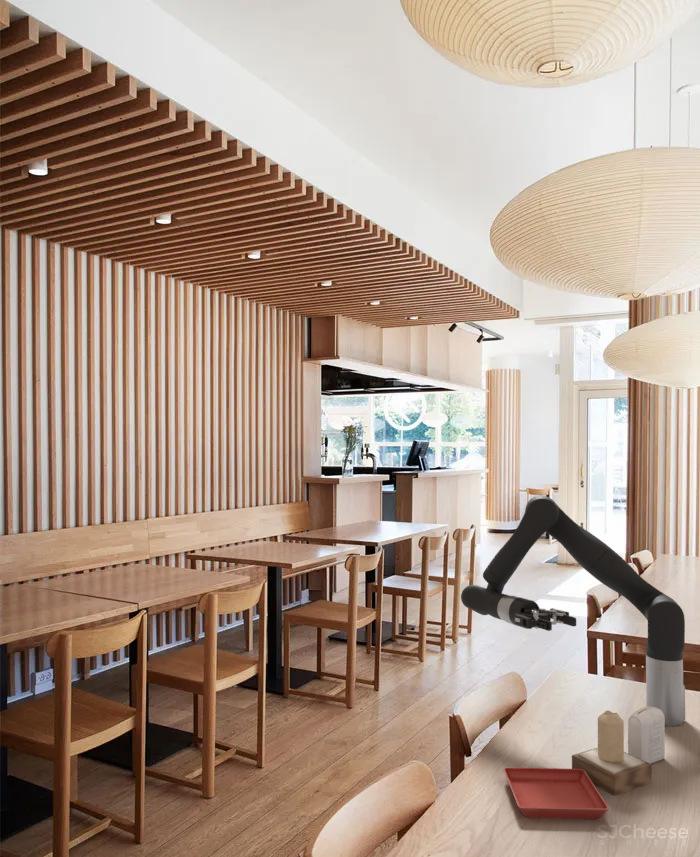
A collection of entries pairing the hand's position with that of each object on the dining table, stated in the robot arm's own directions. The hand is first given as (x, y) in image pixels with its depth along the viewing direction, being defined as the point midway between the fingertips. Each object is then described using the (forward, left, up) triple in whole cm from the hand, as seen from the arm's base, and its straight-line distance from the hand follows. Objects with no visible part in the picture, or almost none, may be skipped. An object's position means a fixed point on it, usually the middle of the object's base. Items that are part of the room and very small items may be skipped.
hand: (563, 624), depth 179 cm
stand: (+4, +18, -30) cm, 35 cm away
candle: (+4, +18, -26) cm, 32 cm away
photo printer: (-10, +16, -30) cm, 36 cm away
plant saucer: (+23, +19, -31) cm, 43 cm away
